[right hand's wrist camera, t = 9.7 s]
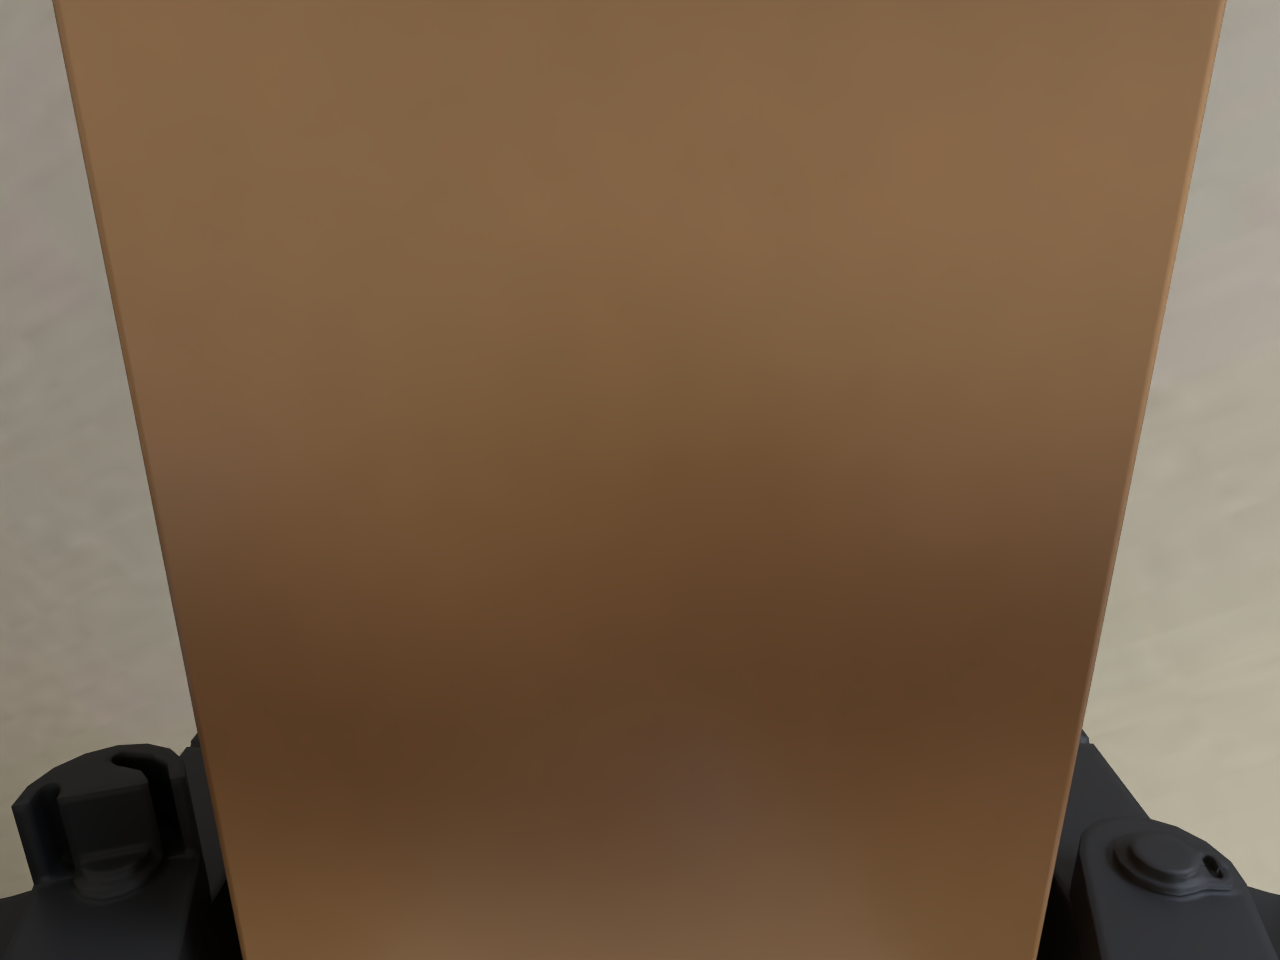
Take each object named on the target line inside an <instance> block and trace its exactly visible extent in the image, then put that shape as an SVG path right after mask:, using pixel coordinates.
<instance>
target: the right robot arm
mask: <svg viewBox="0 0 1280 960" xmlns="http://www.w3.org/2000/svg"><path fill="white" fill-rule="evenodd" d="M11 807H12V811H13V814H14V818H15V821H16V825H17V828H18V831H19V835H20V838H21V842H22V845H23V848H24V852H25V855H26V859H27V862H28V866H29V869H30V872H31V876H32V879H33V883H34V886H33V888H32V891H28V892H25V893H21V894H18V895H15V896H11V897H7V898H2V899H0V960H243V958H242V953H241V948H240V943H239V938H238V933H237V928H236V923H235V918H234V913H233V908H232V903H231V898H230V892H229V887H228V882H227V877H226V872H225V867H224V862H223V857H222V852H221V847H220V842H219V837H218V832H217V827H216V822H215V817H214V812H213V807H212V802H211V797H210V792H209V787H208V782H207V777H206V772H205V767H204V762H203V757H202V752H201V747H200V741H199V736H198V733H197V734H196V735H195V737H194V738H193V739H192V741H191V747H186V749H185V750H184V751H183V753H182V754H181V755H180V757H179V756H178V755H177V754H176V753H175V752H173V751H172V750H171V749H169V748H165V747H160V746H156V745H151V744H132V745H117V746H113V747H109V748H105V749H102V750H98V751H94V752H90V753H86V754H83V755H81V756H79V757H77V758H75V759H72V760H70V761H68V762H66V763H63V764H61V765H59V766H57V767H55V768H53V769H52V770H50V771H49V772H47V773H46V774H44V775H43V776H42V777H40V778H39V779H37V780H36V781H35V782H33V783H32V784H30V785H29V786H28V787H27V788H26V789H25V790H24V792H23V793H22V794H21V795H20V796H19V798H18V799H17V800H16V801H15V803H14V804H13V805H12V806H11ZM1036 960H1280V895H1277V894H1273V893H1268V892H1265V891H1262V890H1258V889H1255V888H1251V887H1248V886H1247V884H1246V883H1245V881H1244V880H1243V878H1242V877H1241V876H1240V874H1239V873H1238V871H1237V870H1236V868H1235V867H1234V865H1233V864H1232V863H1231V861H1229V860H1228V859H1227V858H1226V857H1224V856H1223V855H1222V854H1221V853H1220V852H1218V851H1217V850H1216V849H1215V848H1213V847H1212V846H1211V845H1210V844H1208V843H1207V842H1206V841H1204V840H1202V839H1200V838H1198V837H1196V836H1194V835H1192V834H1190V833H1188V832H1186V831H1184V830H1182V829H1180V828H1178V827H1176V826H1173V825H1169V824H1166V823H1163V822H1159V821H1156V820H1152V819H1150V818H1149V817H1148V815H1147V814H1146V813H1145V811H1144V810H1143V809H1142V807H1141V806H1140V805H1139V803H1138V802H1137V801H1136V799H1135V798H1134V797H1133V796H1132V794H1131V793H1130V792H1129V790H1128V789H1127V788H1126V786H1125V785H1124V784H1123V782H1122V781H1121V780H1120V778H1119V777H1118V776H1117V774H1116V773H1115V772H1114V770H1113V769H1112V768H1111V767H1110V765H1109V764H1108V763H1107V761H1106V760H1105V759H1104V757H1103V756H1102V755H1101V753H1100V752H1099V751H1098V749H1097V748H1096V747H1095V745H1094V744H1090V743H1089V738H1088V736H1087V735H1086V734H1085V732H1084V731H1083V730H1082V731H1081V736H1080V741H1079V746H1078V751H1077V757H1076V762H1075V767H1074V772H1073V777H1072V782H1071V787H1070V792H1069V797H1068V802H1067V807H1066V812H1065V817H1064V822H1063V827H1062V832H1061V837H1060V842H1059V847H1058V852H1057V857H1056V862H1055V867H1054V872H1053V877H1052V882H1051V888H1050V893H1049V898H1048V903H1047V908H1046V913H1045V918H1044V923H1043V928H1042V933H1041V938H1040V943H1039V948H1038V953H1037V958H1036Z"/></svg>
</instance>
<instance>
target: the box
mask: <svg viewBox="0 0 1280 960" xmlns="http://www.w3.org/2000/svg"><path fill="white" fill-rule="evenodd" d="M52 1H53V7H54V12H55V17H56V22H57V27H58V32H59V37H60V42H61V47H62V52H63V57H64V62H65V67H66V72H67V77H68V82H69V87H70V92H71V97H72V102H73V107H74V112H75V117H76V122H77V127H78V132H79V137H80V142H81V147H82V153H83V158H84V163H85V168H86V173H87V178H88V183H89V188H90V193H91V198H92V203H93V208H94V213H95V218H96V223H97V228H98V233H99V238H100V243H101V248H102V253H103V258H104V263H105V268H106V273H107V278H108V283H109V288H110V293H111V298H112V304H113V309H114V314H115V319H116V324H117V329H118V334H119V339H120V344H121V349H122V354H123V359H124V364H125V369H126V374H127V379H128V384H129V389H130V394H131V399H132V404H133V409H134V414H135V419H136V424H137V429H138V434H139V439H140V444H141V450H142V455H143V460H144V465H145V470H146V475H147V480H148V485H149V490H150V495H151V500H152V505H153V510H154V515H155V520H156V525H157V530H158V535H159V540H160V545H161V550H162V555H163V560H164V565H165V570H166V575H167V580H168V585H169V590H170V595H171V601H172V606H173V611H174V616H175V621H176V626H177V631H178V636H179V641H180V646H181V651H182V656H183V661H184V666H185V671H186V676H187V681H188V686H189V691H190V696H191V701H192V706H193V711H194V716H195V721H196V726H197V731H198V736H199V741H200V747H201V752H202V757H203V762H204V767H205V772H206V777H207V782H208V787H209V792H210V797H211V802H212V807H213V812H214V817H215V822H216V827H217V832H218V837H219V842H220V847H221V852H222V857H223V862H224V867H225V872H226V877H227V882H228V887H229V892H230V898H231V903H232V908H233V913H234V918H235V923H236V928H237V933H238V938H239V943H240V948H241V953H242V958H243V960H1036V958H1037V953H1038V948H1039V943H1040V938H1041V933H1042V928H1043V923H1044V918H1045V913H1046V908H1047V903H1048V898H1049V893H1050V888H1051V882H1052V877H1053V872H1054V867H1055V862H1056V857H1057V852H1058V847H1059V842H1060V837H1061V832H1062V827H1063V822H1064V817H1065V812H1066V807H1067V802H1068V797H1069V792H1070V787H1071V782H1072V777H1073V772H1074V767H1075V762H1076V757H1077V751H1078V746H1079V741H1080V736H1081V731H1082V726H1083V721H1084V716H1085V711H1086V706H1087V701H1088V696H1089V691H1090V686H1091V681H1092V676H1093V671H1094V666H1095V661H1096V656H1097V651H1098V646H1099V641H1100V636H1101V631H1102V626H1103V620H1104V615H1105V610H1106V605H1107V600H1108V595H1109V590H1110V585H1111V580H1112V575H1113V570H1114V565H1115V560H1116V555H1117V550H1118V545H1119V540H1120V535H1121V530H1122V525H1123V520H1124V515H1125V510H1126V505H1127V500H1128V494H1129V489H1130V484H1131V479H1132V474H1133V469H1134V464H1135V459H1136V454H1137V449H1138V444H1139V439H1140V434H1141V429H1142V424H1143V419H1144V414H1145V409H1146V404H1147V399H1148V394H1149V389H1150V384H1151V379H1152V374H1153V369H1154V363H1155V358H1156V353H1157V348H1158V343H1159V338H1160V333H1161V328H1162V323H1163V318H1164V313H1165V308H1166V303H1167V298H1168V293H1169V288H1170V283H1171V278H1172V273H1173V268H1174V263H1175V258H1176V253H1177V248H1178V243H1179V238H1180V232H1181V227H1182V222H1183V217H1184V212H1185V207H1186V202H1187V197H1188V192H1189V187H1190V182H1191V177H1192V172H1193V167H1194V162H1195V157H1196V152H1197V147H1198V142H1199V137H1200V132H1201V127H1202V122H1203V117H1204V112H1205V106H1206V101H1207V96H1208V91H1209V86H1210V81H1211V76H1212V71H1213V66H1214V61H1215V56H1216V51H1217V46H1218V41H1219V36H1220V31H1221V26H1222V21H1223V16H1224V11H1225V6H1226V1H1227V0H52Z"/></svg>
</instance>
